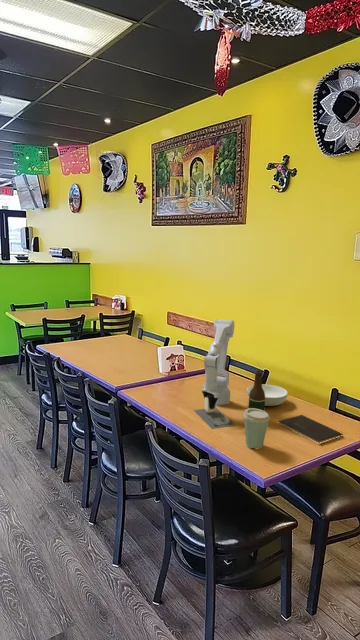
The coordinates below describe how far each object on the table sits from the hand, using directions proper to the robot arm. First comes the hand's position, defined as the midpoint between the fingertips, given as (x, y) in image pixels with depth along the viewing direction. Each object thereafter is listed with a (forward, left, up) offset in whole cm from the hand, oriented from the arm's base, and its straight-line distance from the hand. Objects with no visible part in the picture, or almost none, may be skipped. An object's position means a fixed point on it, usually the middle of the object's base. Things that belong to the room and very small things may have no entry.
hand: (209, 406), depth 200 cm
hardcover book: (-37, +28, -5) cm, 47 cm away
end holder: (0, +10, -4) cm, 11 cm away
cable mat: (0, +5, -4) cm, 7 cm away
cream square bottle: (0, 0, -2) cm, 2 cm away
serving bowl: (-36, -7, -5) cm, 37 cm away
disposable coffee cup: (-5, +34, -5) cm, 35 cm away
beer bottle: (-19, +11, -5) cm, 22 cm away
